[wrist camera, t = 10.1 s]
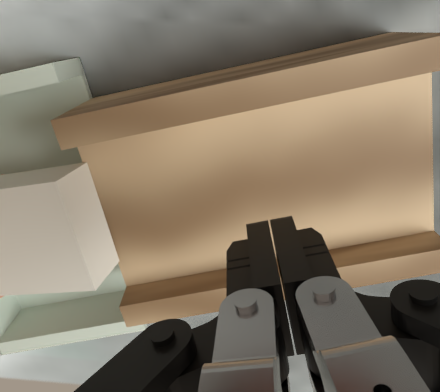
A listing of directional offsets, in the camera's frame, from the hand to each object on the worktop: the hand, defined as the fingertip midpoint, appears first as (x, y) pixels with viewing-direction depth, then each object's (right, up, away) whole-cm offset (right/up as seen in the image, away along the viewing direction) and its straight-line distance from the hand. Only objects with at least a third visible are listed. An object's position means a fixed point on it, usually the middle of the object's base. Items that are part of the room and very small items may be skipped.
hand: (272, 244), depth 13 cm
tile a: (-9, +1, +6) cm, 11 cm away
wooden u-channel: (0, +4, +9) cm, 9 cm away
